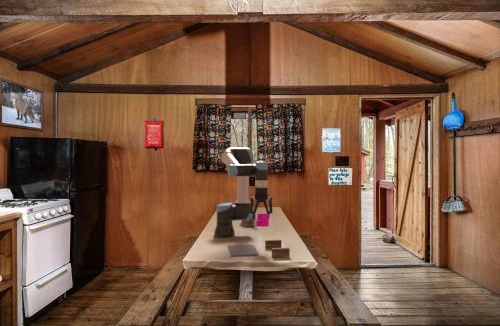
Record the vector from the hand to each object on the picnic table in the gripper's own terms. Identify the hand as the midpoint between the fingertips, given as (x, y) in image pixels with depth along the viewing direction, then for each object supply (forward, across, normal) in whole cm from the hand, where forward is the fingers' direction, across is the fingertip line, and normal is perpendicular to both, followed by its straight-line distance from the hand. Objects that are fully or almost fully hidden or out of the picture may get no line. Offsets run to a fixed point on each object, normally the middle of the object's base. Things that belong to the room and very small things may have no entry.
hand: (260, 224), depth 199 cm
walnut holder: (+16, +9, -4) cm, 19 cm away
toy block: (+1, 0, 0) cm, 1 cm away
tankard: (+18, +7, +77) cm, 80 cm away
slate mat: (+16, -11, +3) cm, 20 cm away
